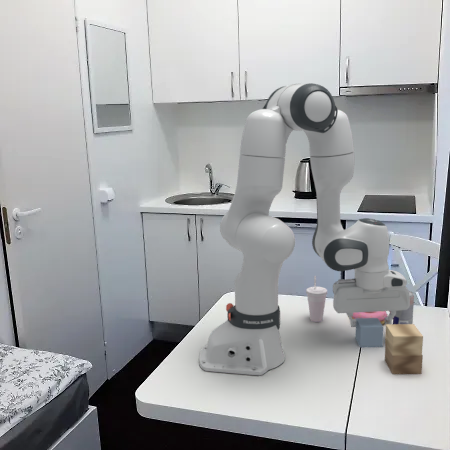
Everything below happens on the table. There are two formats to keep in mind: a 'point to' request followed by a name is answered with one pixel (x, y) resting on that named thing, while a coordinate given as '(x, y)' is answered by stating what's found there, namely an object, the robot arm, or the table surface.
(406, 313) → the energy drink
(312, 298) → the smoothie
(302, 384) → the table surface
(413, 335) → the tower top
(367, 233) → the robot arm
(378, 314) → the doughnut
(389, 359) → the tower base
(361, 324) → the blue block
